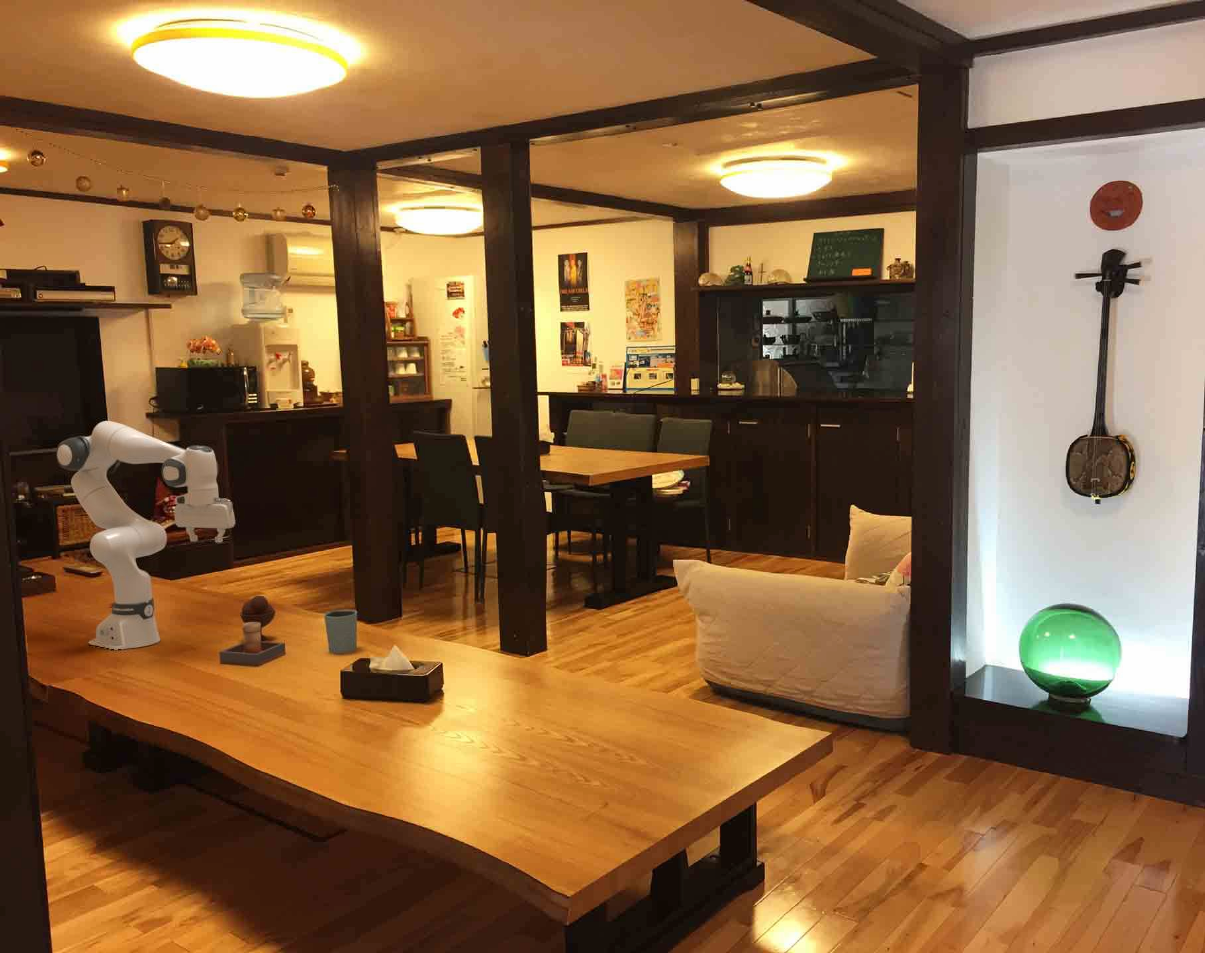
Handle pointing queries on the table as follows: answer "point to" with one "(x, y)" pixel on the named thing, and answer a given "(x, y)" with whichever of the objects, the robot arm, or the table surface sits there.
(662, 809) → the table surface
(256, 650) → the tea canister
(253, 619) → the ice cream bowl
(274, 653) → the lacquer tray
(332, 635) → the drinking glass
